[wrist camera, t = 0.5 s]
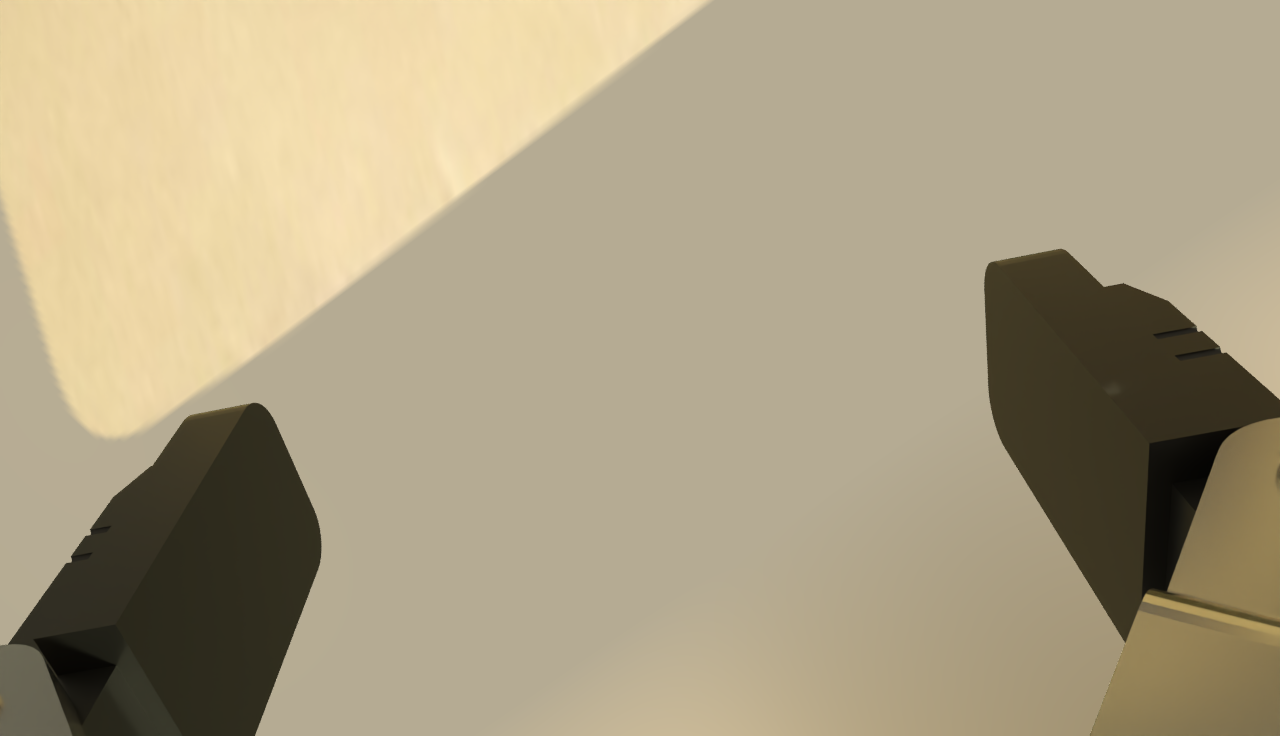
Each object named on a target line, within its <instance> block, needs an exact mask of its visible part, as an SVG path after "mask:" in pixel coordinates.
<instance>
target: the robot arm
mask: <svg viewBox="0 0 1280 736" xmlns="http://www.w3.org/2000/svg"><path fill="white" fill-rule="evenodd" d="M984 284H985V285H984V287H985V288H984V291H985V313H986V340H987V364H988V386H989V387H988V388H989V398H990V404H991V410H992V414H993V419H994V422H995V426H996V428H997V431H998V434H999V437H1000V439H1001V441H1002V443H1003V445H1004V447H1005V449H1006V450H1007V452H1008V453H1009V455H1010V457H1011V459H1012V460H1013V462H1014V463H1015V465H1016V467H1017V468H1018V470H1019V472H1020V473H1021V475H1022V476H1023V478H1024V480H1025V481H1026V483H1027V485H1028V486H1029V488H1030V489H1031V491H1032V492H1033V494H1034V496H1035V497H1036V499H1037V501H1038V502H1039V504H1040V505H1041V507H1042V509H1043V510H1044V512H1045V513H1046V515H1047V517H1048V518H1049V520H1050V522H1051V523H1052V525H1053V527H1054V528H1055V530H1056V531H1057V533H1058V535H1059V536H1060V538H1061V539H1062V541H1063V543H1064V544H1065V546H1066V547H1067V549H1068V551H1069V553H1070V554H1071V556H1072V557H1073V559H1074V561H1075V562H1076V564H1077V565H1078V567H1079V569H1080V570H1081V572H1082V574H1083V575H1084V577H1085V578H1086V580H1087V581H1088V583H1089V585H1090V586H1091V588H1092V590H1093V591H1094V593H1095V595H1096V596H1097V598H1098V599H1099V601H1100V603H1101V604H1102V606H1103V608H1104V609H1105V611H1106V612H1107V614H1108V616H1109V617H1110V619H1111V620H1112V622H1113V624H1114V625H1115V627H1116V628H1117V630H1118V632H1119V633H1120V635H1121V637H1122V638H1123V640H1124V641H1125V645H1124V648H1123V651H1122V653H1121V656H1120V658H1119V661H1118V664H1117V666H1116V669H1115V671H1114V674H1113V677H1112V679H1111V682H1110V684H1109V687H1108V690H1107V692H1106V695H1105V698H1104V700H1103V702H1102V705H1101V708H1100V710H1099V713H1098V715H1097V718H1096V720H1095V723H1094V726H1093V728H1092V731H1091V733H1090V736H1280V400H1279V399H1278V398H1277V397H1276V396H1275V395H1274V394H1273V393H1272V392H1270V391H1269V390H1268V389H1267V388H1266V387H1265V386H1263V385H1262V384H1261V383H1260V382H1259V381H1258V380H1257V379H1256V378H1255V377H1253V376H1252V375H1251V374H1250V373H1249V372H1248V371H1247V370H1245V369H1244V368H1243V367H1242V366H1241V365H1240V364H1239V363H1238V362H1236V361H1235V360H1234V359H1233V358H1232V357H1231V356H1230V355H1228V354H1227V353H1221V350H1220V346H1218V345H1217V344H1216V343H1215V342H1214V341H1213V340H1212V339H1210V338H1209V337H1208V336H1207V335H1206V334H1205V333H1204V332H1203V331H1200V332H1198V331H1197V328H1196V327H1197V326H1196V325H1195V324H1194V323H1192V322H1191V321H1190V320H1189V319H1188V318H1187V317H1186V316H1184V315H1183V314H1182V313H1181V312H1180V311H1179V310H1178V309H1176V308H1175V307H1174V306H1173V305H1172V304H1171V303H1170V302H1169V301H1167V300H1164V299H1162V298H1159V297H1157V296H1154V295H1151V294H1149V293H1146V292H1144V291H1141V290H1139V289H1136V288H1133V287H1131V286H1129V285H1126V284H1124V283H1123V284H1118V285H1113V286H1108V287H1103V286H1102V285H1101V284H1100V283H1099V282H1098V281H1097V280H1096V279H1095V278H1094V277H1093V276H1092V275H1091V274H1090V273H1089V272H1088V271H1087V270H1086V269H1085V268H1084V267H1083V266H1082V265H1081V264H1080V263H1079V262H1078V261H1077V260H1075V259H1074V258H1073V257H1072V256H1071V255H1070V254H1069V253H1068V252H1067V251H1066V250H1063V249H1057V250H1052V251H1047V252H1042V253H1036V254H1031V255H1026V256H1021V257H1015V258H1010V259H1005V260H1000V261H995V262H991V263H989V264H988V266H987V269H986V272H985V282H984ZM90 530H91V535H89V536H85V538H84V539H83V540H82V542H81V543H80V544H79V546H78V547H77V549H76V550H75V552H74V553H73V554H72V556H71V558H72V562H71V563H66V564H65V566H64V567H63V568H62V570H61V571H60V573H59V574H58V575H57V577H56V578H55V579H54V581H53V582H52V584H51V585H50V587H49V588H48V589H47V591H46V592H45V593H44V595H43V596H42V598H41V599H40V600H39V602H38V603H37V605H36V606H35V607H34V609H33V610H32V612H31V613H30V615H29V616H28V617H27V619H26V620H25V621H24V623H23V624H22V626H21V627H20V628H19V630H18V631H17V633H16V634H15V635H14V637H13V638H12V640H11V641H10V642H9V644H8V645H1V646H0V736H255V734H256V731H257V729H258V726H259V723H260V721H261V718H262V715H263V713H264V710H265V708H266V705H267V702H268V700H269V697H270V695H271V692H272V689H273V687H274V684H275V681H276V679H277V676H278V673H279V671H280V668H281V666H282V663H283V660H284V657H285V655H286V652H287V650H288V647H289V645H290V642H291V639H292V637H293V634H294V631H295V629H296V626H297V623H298V621H299V618H300V615H301V613H302V610H303V608H304V605H305V602H306V600H307V597H308V595H309V592H310V589H311V587H312V584H313V581H314V579H315V576H316V573H317V571H318V568H319V565H320V559H321V534H320V528H319V523H318V520H317V516H316V513H315V511H314V508H313V506H312V504H311V502H310V499H309V497H308V495H307V493H306V491H305V488H304V486H303V484H302V481H301V479H300V477H299V475H298V472H297V470H296V468H295V466H294V463H293V461H292V459H291V457H290V454H289V452H288V450H287V448H286V446H285V443H284V441H283V439H282V437H281V434H280V432H279V430H278V428H277V425H276V423H275V421H274V419H273V417H272V416H271V414H270V413H269V412H268V410H267V409H266V408H265V407H264V406H262V405H261V404H258V403H251V404H246V405H240V406H235V407H230V408H225V409H220V410H215V411H209V412H205V413H199V414H194V415H190V416H188V417H187V418H186V419H185V420H184V421H183V423H182V424H181V425H180V427H179V428H178V430H177V431H176V433H175V434H174V436H173V437H172V438H171V440H170V441H169V443H168V444H167V446H166V447H165V449H164V450H163V452H162V453H161V455H160V456H159V457H158V459H157V460H156V462H155V463H154V465H153V466H151V467H149V468H148V469H147V470H146V471H144V473H142V474H141V475H140V476H138V477H137V478H136V479H135V480H134V481H132V482H131V483H130V484H129V485H128V486H126V487H125V488H124V489H123V490H122V491H120V492H119V493H118V494H117V495H115V496H114V497H113V498H112V500H111V501H110V503H109V504H108V505H107V507H106V508H105V510H104V511H103V512H102V514H101V515H100V517H99V518H98V519H97V521H96V522H95V524H94V525H93V526H92V528H91V529H90Z"/></svg>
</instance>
